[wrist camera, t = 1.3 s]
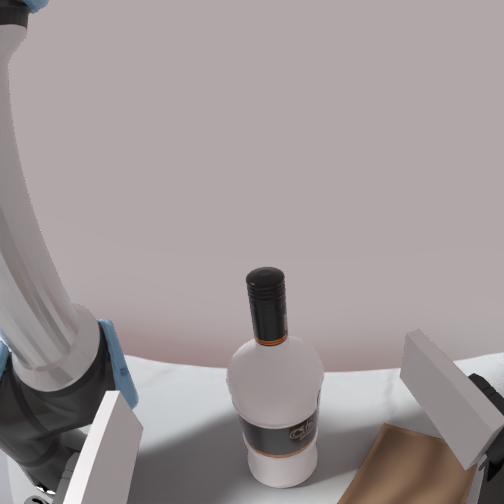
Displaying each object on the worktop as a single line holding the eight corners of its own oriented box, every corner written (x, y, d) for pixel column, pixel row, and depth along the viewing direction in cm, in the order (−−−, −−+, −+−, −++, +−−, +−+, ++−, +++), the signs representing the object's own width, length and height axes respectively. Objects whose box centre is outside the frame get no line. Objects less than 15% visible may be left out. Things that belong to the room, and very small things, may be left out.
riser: (321, 525, 21) (324, 519, 19) (378, 436, 32) (384, 421, 30) (429, 555, 11) (444, 551, 9) (468, 459, 22) (481, 445, 20)
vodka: (259, 432, 36) (225, 244, 24) (321, 439, 33) (337, 245, 21) (240, 483, 28) (169, 306, 16) (310, 493, 25) (332, 319, 13)
